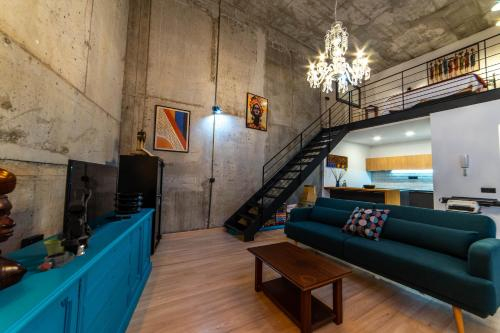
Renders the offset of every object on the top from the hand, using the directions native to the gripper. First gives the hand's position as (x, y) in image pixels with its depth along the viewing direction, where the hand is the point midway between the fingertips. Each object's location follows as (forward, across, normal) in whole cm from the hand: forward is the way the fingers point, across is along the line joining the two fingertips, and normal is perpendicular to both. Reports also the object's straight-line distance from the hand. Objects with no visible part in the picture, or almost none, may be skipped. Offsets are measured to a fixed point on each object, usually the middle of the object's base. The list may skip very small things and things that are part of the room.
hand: (78, 253), depth 114 cm
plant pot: (+1, -4, -14) cm, 15 cm away
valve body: (+1, +10, -4) cm, 11 cm away
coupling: (+1, 0, 0) cm, 1 cm away
